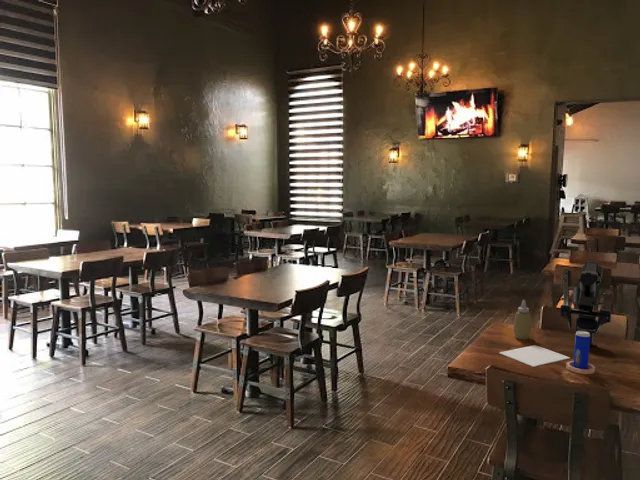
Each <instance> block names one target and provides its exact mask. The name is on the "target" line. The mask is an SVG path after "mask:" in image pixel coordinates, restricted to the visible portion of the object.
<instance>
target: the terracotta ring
mask: <svg viewBox="0 0 640 480" xmlns="http://www.w3.org/2000/svg"><path fill="white" fill-rule="evenodd" d="M573 364H574V360H570V361H567V362H566V364H565V365H566V367H565V368H566V369H567V370H568V371H570V372H572V373H576V374H582V375H591V374H595V371H596V367H595V366H594V365H593V364H591V363H589V362H588V369H578V368H575V367H573Z"/></svg>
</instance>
